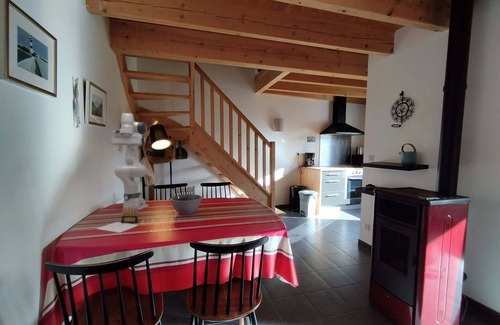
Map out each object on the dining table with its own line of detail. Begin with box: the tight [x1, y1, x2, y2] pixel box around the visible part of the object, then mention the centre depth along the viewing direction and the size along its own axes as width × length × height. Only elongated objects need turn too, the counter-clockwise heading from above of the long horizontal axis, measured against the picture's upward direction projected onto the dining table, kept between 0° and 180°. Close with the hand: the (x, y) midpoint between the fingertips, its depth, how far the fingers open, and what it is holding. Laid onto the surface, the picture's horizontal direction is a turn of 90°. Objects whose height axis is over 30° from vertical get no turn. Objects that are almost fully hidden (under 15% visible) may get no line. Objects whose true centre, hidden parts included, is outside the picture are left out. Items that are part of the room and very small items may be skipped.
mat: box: [96, 221, 140, 234], centre depth 162 cm, size 16×20×1 cm
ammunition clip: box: [120, 205, 139, 224], centre depth 171 cm, size 11×2×12 cm, turn 104°
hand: (126, 150), depth 174 cm, fingers open, 8 cm apart
